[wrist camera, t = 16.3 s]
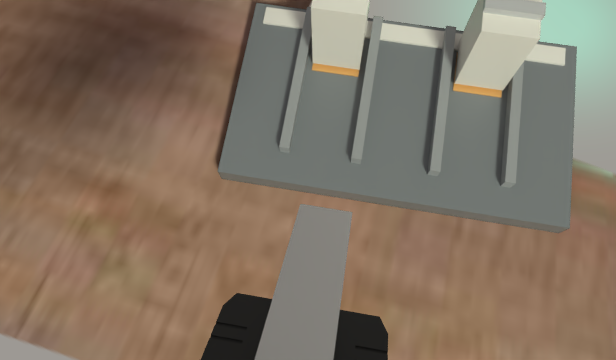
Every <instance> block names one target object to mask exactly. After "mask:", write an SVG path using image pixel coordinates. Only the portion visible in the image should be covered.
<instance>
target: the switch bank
mask: <svg viewBox="0 0 616 360" xmlns="http://www.w3.org/2000/svg"><path fill="white" fill-rule="evenodd" d="M463 32H464V31H458V30H456V27H451V26H447V27H446V29H444V28H436V27H429V26H422V25H414V24H407V23H400V22H393V21H385V20H383V17H378V16H374V19H370V18H368V19H367V26H366V32H365V38H364V45H363V51H362V57H361V63H360V69H359V70H357V69H350V68H343V67H336V66H329V65H322V64H315V63H313V57H312V24H311V7H307V10H305V9H298V8H291V7H283V6H276V5H269V4H261V3H256V7H255V12H254V16H253V20H252V25H251V29H250V33H249V38H248V42H247V46H246V51H245V55H244V59H243V64H242V68H241V72H240V77H239V81H238V85H237V90H236V94H235V98H234V103H233V107H232V111H231V116H230V120H229V124H228V129H227V133H226V137H225V142H224V146H223V150H222V155H221V159H220V163H219V168H218V173H219V175H220V176H221V178H222V179H226V180H233V181H239V182H245V183H251V184H257V185H264V186H270V187H276V188H282V189H289V190H295V191H301V192H307V193H313V194H320V195H326V196H332V197H338V198H344V199H351V200H357V201H363V202H369V203H375V204H382V205H388V206H394V207H400V208H406V209H413V210H419V211H425V212H431V213H437V214H444V215H450V216H456V217H462V218H468V219H475V220H481V221H487V222H493V223H499V224H506V225H512V226H518V227H524V228H530V229H537V230H543V231H549V232H555V233H560V232H562V231H565V230H567V229H569V228H570V209H571V183H572V157H573V128H574V104H575V103H574V102H575V79H576V53H577V47H574V46H568V45H560V44H553V43H546V42H537V44H536V45H535V47H534V48H533V49H532V51H531V52H530V54H529V55H528V56H527V58H526V59H525V60H524V62H523V63H522V65H521V66H520V67H519V69H518V70H517V72H516V73H515V74H514V76H513V77H512V79H511V80H510V81H509V83H508V84H507V86H506V87H505V88H504V90H496V89H489V88H482V87H475V86H468V85H461V84H454V83H455V74H456V65H457V55H458V46H459V40H460V38H461V36H462V34H463Z"/></svg>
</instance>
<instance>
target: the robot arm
mask: <svg viewBox="0 0 616 360" xmlns="http://www.w3.org/2000/svg"><path fill="white" fill-rule="evenodd" d="M351 218H352V212H348V211H341V210H335V209H329V208H323V207H317V206H311V205H305V204H300V208H299V211H298V214H297V218H296V221H295V224H294V228H293V231H292V235H291V238H290V241H289V245H288V248H287V251H286V255H285V258H284V262H283V265H282V268H281V272H280V275H279V279H278V282H277V285H276V289H275V292H274V295H273V299H268V298H262V297H257V296H251V295H245V294H240V293H236V294H235V295H234V296H233V297H232V298H231V299H230V300H229V301H228V302H226V303H225V304H224V305H223V307H222V309H221V312H220V314H219V317H218V319H217V321H216V325H215V326H214V329H213V331H212V334H211V338H209V341H208V343H207V346H206V348H205V351H204V353H203V356H202V358H201V360H388V355H387V352H388V333H387V331H386V329H385V327H384V325H383V323H382V321H381V319H380V317H378V316H372V315H366V314H361V313H355V312H349V311H344V310H340V304H341V296H342V289H343V281H344V273H345V265H346V257H347V250H348V242H349V234H350V226H351Z"/></svg>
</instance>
